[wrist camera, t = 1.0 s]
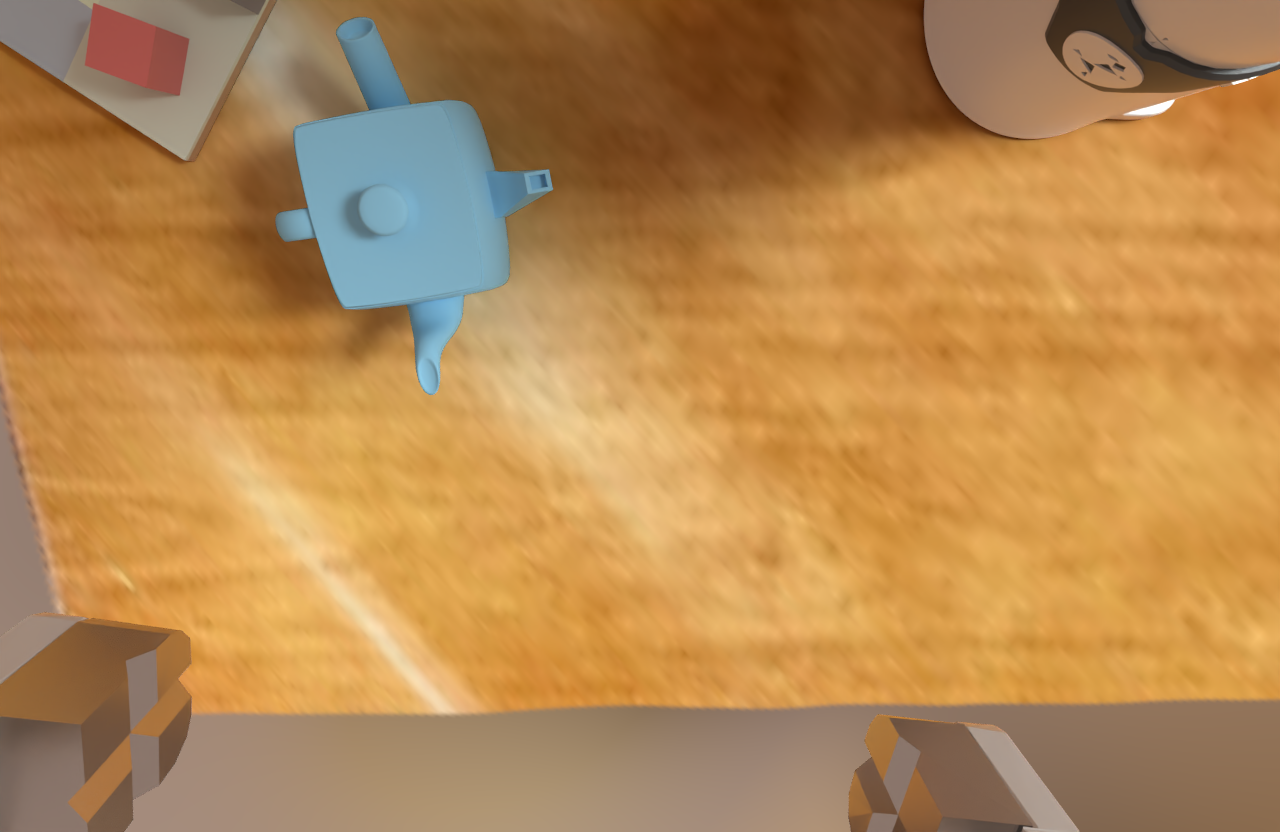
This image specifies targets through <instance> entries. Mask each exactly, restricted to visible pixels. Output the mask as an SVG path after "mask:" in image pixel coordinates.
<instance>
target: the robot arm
mask: <svg viewBox="0 0 1280 832" xmlns="http://www.w3.org/2000/svg"><path fill="white" fill-rule="evenodd" d="M924 31H925V39H926V45H927V50H928V54H929V58H930V61H931V64H932V67H933V70H934V72H935V74H936V77H937V79H938V81H939V83H940V84H941V86H942V88H943V90H944V91H945V93H946V94H947V96H948V97H949V98H950V99H951V101H952V102H953V103H954V104H955V105H956V107H957V108H958V109H959V110H960V111H961V112H963V113H964V114H965V115H966V116H967V117H968V118H970V119H971V120H972V121H974V122H975V123H977V124H978V125H980V126H982V127H984V128H986V129H988V130H990V131H993V132H995V133H998V134H1001V135H1005V136H1009V137H1015V138H1023V139H1039V138H1048V137H1053V136H1058V135H1062V134H1065V133H1068V132H1071V131H1074V130H1076V129H1079V128H1081V127H1084V126H1086V125H1089V124H1092V123H1094V122H1097V121H1100V120H1104V119H1122V120H1137V119H1144V118H1148V117H1152V116H1155V115H1158V114H1161V113H1163V112H1164V111H1166V110H1167V109H1168V108H1169V107H1170V106H1171V105H1172V104H1173V102H1174V101H1175V99H1178V98H1181V97H1185V96H1188V95H1191V94H1194V93H1198V92H1201V91H1204V90H1207V89H1211V88H1214V87H1217V86H1221V87H1224V86H1229V85H1234V84H1237V83H1241V82H1244V81H1247V80H1250V79H1253V78H1255V77H1257V76H1261V75H1264V74H1267V73H1270V72H1272V71H1275V70H1278V69H1280V0H925V2H924ZM190 664H191V647H190V638H189V637H188V636H187V635H186V634H185V633H184V632H183V631H181V630H174V629H167V628H160V627H152V626H145V625H138V624H131V623H124V622H117V621H110V620H103V619H96V618H91V619H88V618H85V617H79V616H71V615H63V614H55V613H47V612H44V613H40V614H35V615H29V616H28V617H26V618H25V619H24V620H22V621H21V622H20V623H19V624H17V625H15V626H14V627H13V628H11V629H10V630H9V631H7V632H6V633H4V634H3V635H2V636H0V832H124V831H125V830H126V829H127V828H128V826H129V825H130V824H131V822H132V821H133V800H134V799H136V798H137V797H139V796H141V795H143V794H145V793H146V792H148V791H150V790H152V789H153V788H155V787H157V786H159V785H160V784H161V782H162V781H163V780H164V778H165V777H166V775H167V774H168V773H169V771H170V770H171V769H172V767H173V766H174V764H175V762H176V760H177V758H178V756H179V754H180V751H181V749H182V747H183V744H184V742H185V740H186V737H187V734H188V729H189V724H190V719H191V703H192V696H191V695H190V694H189V693H188V691H187V690H186V689H185V687H184V686H183V685H182V684H181V682H180V681H179V680H178V678H179V677H180V676H181V675H182V673H183V672H184V671H185V670H186V669H187V668H188V667H189V665H190ZM865 743H866V745H867V747H868V750H869V752H870V754H871V756H872V757H871V758H870V759H868V760H867V761H866V762H865V763H863V764H862V765H861V766H860V767H859V768H857V769H856V770H855V772H854V776H853V779H852V783H851V787H850V791H849V809H848V811H849V812H848V818H849V823H850V828H851V832H1080V831H1079V830H1078V829H1077V827H1076V826H1075V825H1074V823H1073V822H1072V821H1071V819H1070V818H1069V817H1068V815H1067V814H1066V813H1065V811H1064V810H1063V809H1062V807H1061V806H1060V804H1059V803H1058V802H1057V800H1056V799H1055V798H1054V796H1053V795H1052V794H1051V792H1050V791H1049V790H1048V788H1047V787H1046V786H1045V784H1044V783H1043V782H1042V780H1041V779H1040V778H1039V776H1038V775H1037V774H1036V772H1035V771H1034V770H1033V768H1032V767H1031V765H1030V764H1029V763H1028V762H1027V760H1026V759H1025V757H1024V756H1023V755H1022V753H1021V752H1020V751H1019V749H1018V748H1017V747H1016V746H1015V744H1014V743H1013V741H1012V740H1011V739H1010V737H1009V736H1008V735H1007V733H1006V732H1004V731H1003V730H1001V729H1000V728H998V727H997V726H995V725H987V724H975V723H964V722H955V723H949V722H939V721H931V720H922V719H914V718H905V717H897V716H896V717H895V716H888V715H879V714H878V715H877V716H876V717H875V718H874V720H873V721H872V722H871V724H870V726H869V729H868V732H867V735H866V738H865Z"/></svg>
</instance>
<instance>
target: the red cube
mask: <svg viewBox="0 0 1280 832" xmlns="http://www.w3.org/2000/svg"><path fill="white" fill-rule="evenodd" d="M188 45H189V39H188V38H186V37H183V36H181V35H178V34H175V33H173V32H170V31H167V30H165V29H162V28H159V27H157V26H154V25H152V24H149V23H146V22H144V21H141V20H138V19H136V18H133V17H131V16H128V15H125V14H122V13H120V12H117V11H114V10H112V9H109V8H106V7H104V6H101V5H98V4H96V3H93V9H92V16H91V23H90V30H89V38H88V45H87V52H86V59H85V66H88V67H90V68H93V69H96V70H99V71H101V72H104V73H107V74H109V75H112V76H115V77H118V78H120V79H123V80H126V81H128V82H131V83H134V84H137V85H139V86H142V87H145V88H148V89H153V90H157V91H161V92H166V93H170V94H174V95H179V96H180V91H181V85H182V79H183V74H184V68H185V62H186V56H187V51H188Z"/></svg>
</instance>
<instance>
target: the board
mask: <svg viewBox="0 0 1280 832" xmlns="http://www.w3.org/2000/svg"><path fill="white" fill-rule="evenodd" d="M276 1H277V0H0V41H1V42H2V43H4V44H5V45H7V46H8V47H10V48H12V49H13V50H15V51H16V52H18V53H19V54H21V55H22V56H24V57H25V58H27V59H29V60H30V61H32V62H33V63H35V64H36V65H38V66H39V67H41V68H42V69H44V70H46V71H47V72H49V73H50V74H52V75H53V76H55V77H56V78H58V79H59V80H61V81H63V82H64V83H66V84H67V85H69V86H70V87H72V88H73V89H75V90H76V91H78V92H80V93H81V94H83V95H84V96H86V97H87V98H89V99H90V100H92V101H93V102H95V103H97V104H98V105H100V106H101V107H103V108H104V109H106V110H107V111H109V112H110V113H112V114H114V115H115V116H117V117H118V118H120V119H121V120H123V121H124V122H126V123H127V124H129V125H131V126H132V127H134V128H135V129H137V130H138V131H140V132H141V133H143V134H144V135H146V136H148V137H149V138H151V139H152V140H154V141H155V142H157V143H158V144H160V145H161V146H163V147H165V148H166V149H168V150H169V151H171V152H172V153H174V154H175V155H177V156H178V157H180V158H182V159H183V160H185V161H195V160H196V158H197V156H198V154H199V152H200V150H201V148H202V146H203V144H204V142H205V140H206V138H207V136H208V134H209V132H210V130H211V128H212V126H213V124H214V122H215V120H216V118H217V116H218V114H219V112H220V110H221V109H222V107H223V105H224V103H225V101H226V99H227V97H228V95H229V93H230V91H231V89H232V87H233V85H234V83H235V81H236V79H237V77H238V75H239V73H240V71H241V69H242V67H243V65H244V63H245V61H246V59H247V57H248V56H249V54H250V52H251V50H252V48H253V46H254V44H255V42H256V40H257V38H258V36H259V34H260V32H261V30H262V28H263V26H264V24H265V22H266V20H267V18H268V16H269V14H270V12H271V10H272V8H273V6H274V4H275V2H276ZM93 3H96V4H98V5H101V6H104V7H106V8H109V9H112V10H114V11H117V12H120V13H122V14H125V15H128V16H131V17H133V18H136V19H138V20H141V21H144V22H146V23H149V24H152V25H154V26H157V27H159V28H162V29H165V30H167V31H170V32H173V33H175V34H178V35H181V36H183V37H186V38H188V39H189V45H188V51H187V56H186V62H185V68H184V74H183V79H182V85H181V91H180V96H179V95H174V94H170V93H166V92H161V91H157V90H153V89H148V88H145V87H142V86H139V85H137V84H134V83H131V82H128V81H126V80H123V79H120V78H118V77H115V76H112V75H109V74H107V73H104V72H101V71H99V70H96V69H93V68H90V67H88V66H85V59H86V52H87V45H88V38H89V30H90V23H91V16H92V9H93Z"/></svg>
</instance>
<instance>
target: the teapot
mask: <svg viewBox="0 0 1280 832" xmlns="http://www.w3.org/2000/svg"><path fill="white" fill-rule="evenodd" d="M336 35H337V37H338V40H339V42H340V44H341V46H342V49H343V51H344V53H345V56H346V58H347V60H348V62H349V65H350V67H351V69H352V71H353V74H354V76H355V78H356V81H357V83H358V85H359V87H360V90H361V92H362V94H363V97H364V99H365V101H366V103H367V106H368V108H369V110H368V111H363V112H357V113H352V114H347V115H342V116H337V117H332V118H327V119H322V120H317V121H313V122H308V123H303V124H300V125H298V126H295V128H294V131H293V138H294V147H295V153H296V158H297V163H298V168H299V172H300V177H301V181H302V185H303V189H304V194H305V198H306V202H307V206H308V208H304V209H297V210H291V211H285V212H280V213H278V214H277V215H276V228H277V231H278V233H279V235H280V237H281V238H282V239H283V240H284V241H286V242H290V241H297V240H304V239H311V238H317V241H318V244H319V248H320V251H321V254H322V257H323V260H324V263H325V266H326V269H327V272H328V275H329V278H330V281H331V284H332V286H333V289H334V291H335V294H336V296H337V298H338V300H339V302H340V304H341V305H342V307H344V308H345V309H374V308H383V307H392V306H400V305H407V308H408V311H409V316H410V321H411V326H412V330H413V336H414V345H415V363H416V372H417V376H418V380H419V382H420V385H421V387H422V388H423V390H424V391H425V392H426V393H427V394H429V395H433V394H435V393H436V392H437V391H438V388H439V384H440V358H441V354H442V351H443V349H444V347H445V345H446V344H447V342H448V341H449V340H450V338H451V337H452V336H453V335H454V333H455V332H456V330H457V328H458V326H459V324H460V322H461V318H462V315H463V304H464V295H467V294H472V293H477V292H482V291H486V290H491V289H494V288H497V287H499V286H502V285H504V284H505V283H506V282H507V281H508V278H509V275H510V258H509V246H508V236H507V228H506V221H505V217H506V216H509V215H511V214H513V213H515V212H516V211H518V210H520V209H521V208H523V207H525V206H526V205H528V204H530V203H531V202H533V201H535V200H536V199H538V198H540V197H542V196H543V195H545V194H547V193H548V192H550V191H552V190H553V187H552V182H551V177H550V172H549V169H547V170H525V171H501V172H499V171H495V167H494V163H493V160H492V156H491V152H490V149H489V146H488V142H487V139H486V136H485V133H484V130H483V127H482V124H481V121H480V119H479V117H478V115H477V112H476V111H475V109H474V108H473V107H472V106H471V105H469V104H467V103H466V102H463V101H456V100H443V101H435V102H426V103H417V104H410V101H409V99H408V97H407V95H406V92H405V90H404V88H403V86H402V83H401V81H400V79H399V77H398V75H397V72H396V70H395V68H394V66H393V63H392V61H391V59H390V57H389V54H388V52H387V50H386V48H385V45H384V43H383V41H382V39H381V37H380V34H379V32H378V30H377V28H376V25H375V23H374V21H373V20H372V19H370V18H367V17H357V18H353V19H350V20H347V21H345V22H344V23H342V24H341V25H340V26H339V27H338V28H337V30H336Z"/></svg>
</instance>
